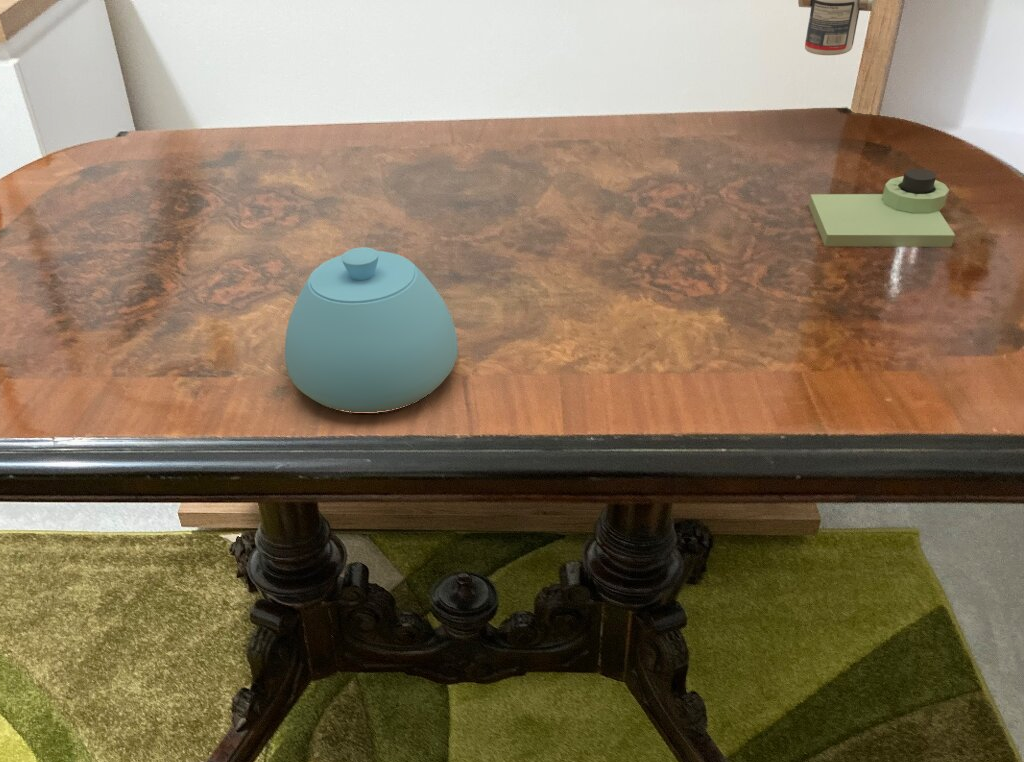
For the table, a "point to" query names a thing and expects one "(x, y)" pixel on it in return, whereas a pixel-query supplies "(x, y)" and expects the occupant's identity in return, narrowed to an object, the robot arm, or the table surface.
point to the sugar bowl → (369, 333)
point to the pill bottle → (832, 26)
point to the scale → (883, 218)
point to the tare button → (918, 181)
